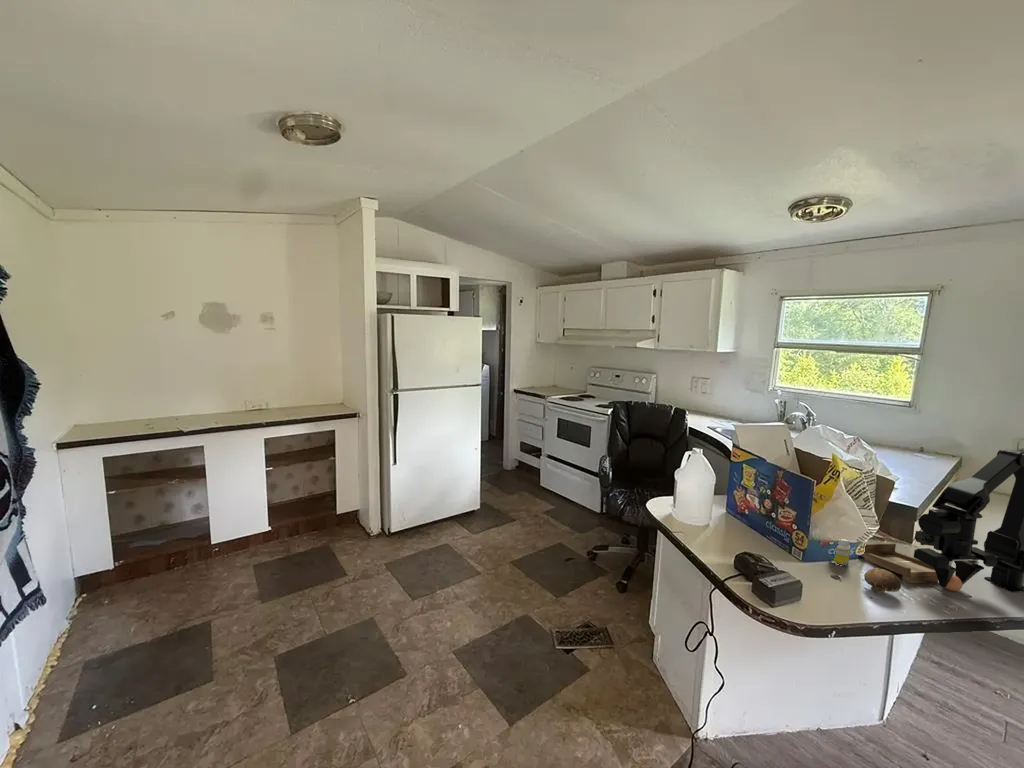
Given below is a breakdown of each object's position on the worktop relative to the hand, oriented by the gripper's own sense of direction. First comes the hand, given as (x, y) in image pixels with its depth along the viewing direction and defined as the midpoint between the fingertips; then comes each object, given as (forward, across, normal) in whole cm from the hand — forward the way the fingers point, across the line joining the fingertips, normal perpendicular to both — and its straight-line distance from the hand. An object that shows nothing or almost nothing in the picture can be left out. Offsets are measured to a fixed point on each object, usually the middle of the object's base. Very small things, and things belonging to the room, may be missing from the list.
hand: (950, 586), depth 118 cm
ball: (+1, 0, 0) cm, 1 cm away
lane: (+1, +4, -11) cm, 11 cm away
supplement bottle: (+2, +20, -15) cm, 25 cm away
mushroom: (+2, +21, 0) cm, 21 cm away
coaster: (+1, 0, 0) cm, 1 cm away
